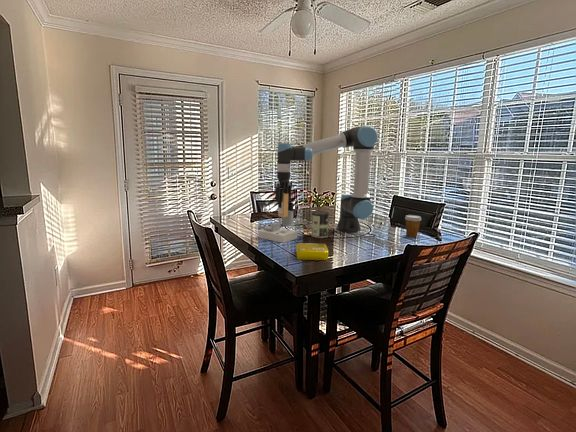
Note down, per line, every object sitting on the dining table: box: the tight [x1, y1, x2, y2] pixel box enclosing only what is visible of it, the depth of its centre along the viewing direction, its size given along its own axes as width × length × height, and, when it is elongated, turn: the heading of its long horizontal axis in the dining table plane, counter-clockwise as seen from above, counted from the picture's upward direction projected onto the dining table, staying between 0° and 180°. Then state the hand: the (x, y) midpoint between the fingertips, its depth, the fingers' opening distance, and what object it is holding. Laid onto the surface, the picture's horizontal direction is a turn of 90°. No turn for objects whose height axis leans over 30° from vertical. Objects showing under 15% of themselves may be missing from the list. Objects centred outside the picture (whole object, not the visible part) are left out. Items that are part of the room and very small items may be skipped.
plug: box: [277, 192, 289, 218], centre depth 194 cm, size 4×4×13 cm
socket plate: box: [258, 227, 299, 244], centre depth 199 cm, size 18×14×4 cm
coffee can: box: [310, 210, 330, 239], centre depth 204 cm, size 10×10×14 cm
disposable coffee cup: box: [404, 214, 422, 238], centre depth 209 cm, size 10×10×12 cm
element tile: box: [295, 242, 329, 261], centre depth 168 cm, size 15×15×5 cm
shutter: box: [263, 221, 281, 231], centre depth 201 cm, size 7×7×4 cm
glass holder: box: [280, 201, 302, 227], centre depth 233 cm, size 9×14×15 cm, turn 107°
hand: (283, 212), depth 194 cm, fingers closed on plug, 4 cm apart
